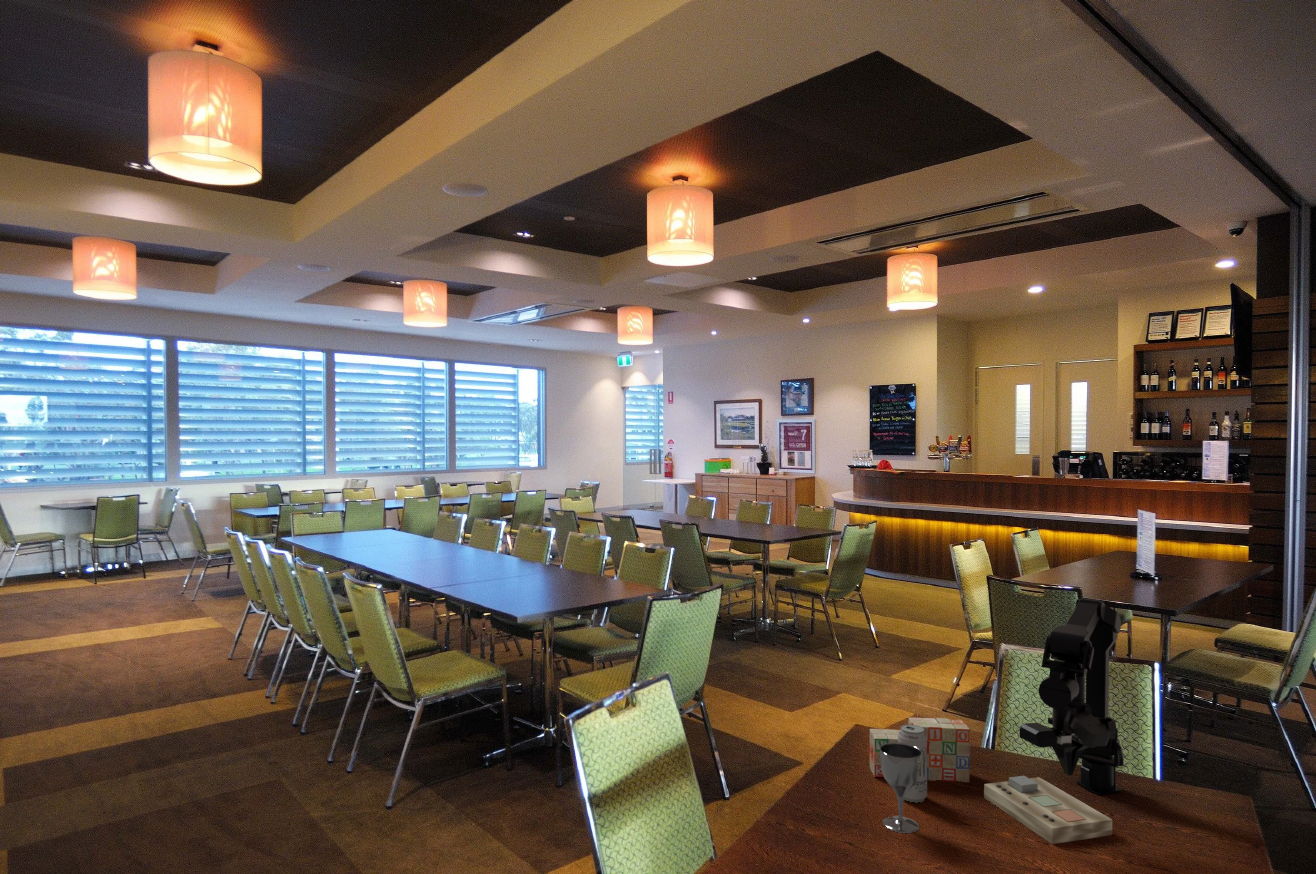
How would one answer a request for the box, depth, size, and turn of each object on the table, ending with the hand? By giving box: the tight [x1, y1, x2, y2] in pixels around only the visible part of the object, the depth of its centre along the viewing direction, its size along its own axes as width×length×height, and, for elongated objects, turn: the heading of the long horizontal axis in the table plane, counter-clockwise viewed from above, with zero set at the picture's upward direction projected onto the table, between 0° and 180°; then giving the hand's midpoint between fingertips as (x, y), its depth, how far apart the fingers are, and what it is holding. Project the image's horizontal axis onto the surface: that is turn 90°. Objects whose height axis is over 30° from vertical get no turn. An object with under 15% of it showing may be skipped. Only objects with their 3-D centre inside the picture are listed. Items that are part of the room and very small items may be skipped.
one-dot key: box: [1030, 796, 1060, 807], centre depth 162 cm, size 4×4×2 cm
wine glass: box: [880, 743, 921, 834], centre depth 158 cm, size 8×8×15 cm
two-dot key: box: [1053, 810, 1085, 822], centre depth 156 cm, size 4×4×2 cm
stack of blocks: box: [868, 717, 971, 783], centre depth 182 cm, size 21×6×12 cm, turn 85°
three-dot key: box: [1008, 775, 1038, 793], centre depth 168 cm, size 4×4×2 cm
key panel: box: [983, 776, 1113, 845], centre depth 162 cm, size 14×20×3 cm
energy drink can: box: [898, 724, 928, 804], centre depth 170 cm, size 6×6×15 cm
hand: (1068, 774), depth 155 cm, fingers closed
